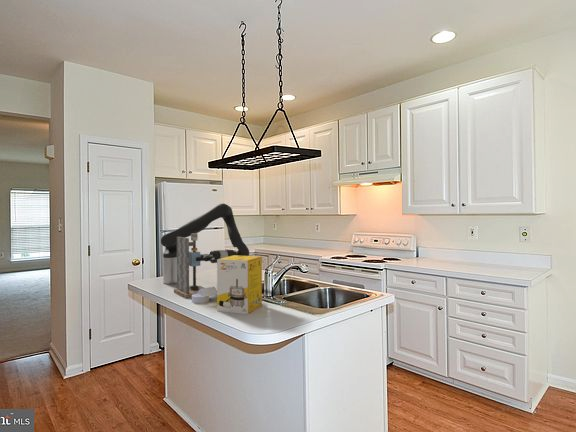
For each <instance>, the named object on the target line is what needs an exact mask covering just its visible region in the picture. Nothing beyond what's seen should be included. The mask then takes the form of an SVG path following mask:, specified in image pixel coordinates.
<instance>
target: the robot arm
mask: <svg viewBox="0 0 576 432" xmlns="http://www.w3.org/2000/svg"><path fill="white" fill-rule="evenodd" d="M233 213H234V212H233V209H232V207H231V206H230V205H228V204H226V203H218V204H217V205H216V206H214V207H213V208H212V209H211V208H210V210H209V211H207V212H204V213H203V214H201V215H200V216H199V215H198V216H197V217H194V218H193V219H191V220H190V221H188V222H186V223H184V224H183V225H181V226H179V228H177V229H175V230H173V231H170V232H167V233H165V234H163V235H162V237H160V243H161V246H163V247H165V249H164V251H163V253H162V264H163V265H162V268H163V269H162V270H163V271H162V278H163V279H162V280H163V281H162V283H163V284H166V285H167V284H171V285H172V284H177V237H183V238H189V237H191V234H192V233H197V234H198V233H200V232H203V230H205V229H206V228H208V226H209V225H210V224H212V223H213V222H214V221H216V220H219V219H222V220H223V221H224V223H225V226H226V229H227V234H228V238H229V240H230V243H231V245H232V247H234V248H236V249H237V251H235V250H234V249H226V250H225V249H220V250H218V249H217V250H216V249H215V250H211V251H210V252H209V253H203V254H202V253H200V257H197V258H196V261H200V262H210V263H211V264H217V259H221V258H225V257H229V256H233V255H238V256H250V250H249V248H248V246H247V245H246V244H245V243H244V241H243V239H242V236H241V234H240V232H239V228H238V226H237V224H236V220H235V217H234V214H233Z"/></svg>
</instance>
